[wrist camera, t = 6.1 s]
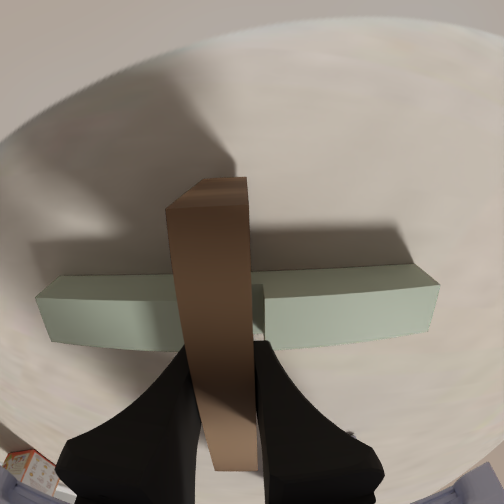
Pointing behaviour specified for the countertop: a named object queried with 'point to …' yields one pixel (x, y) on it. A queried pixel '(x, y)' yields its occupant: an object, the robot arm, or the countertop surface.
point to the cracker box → (32, 470)
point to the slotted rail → (263, 308)
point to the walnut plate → (217, 313)
